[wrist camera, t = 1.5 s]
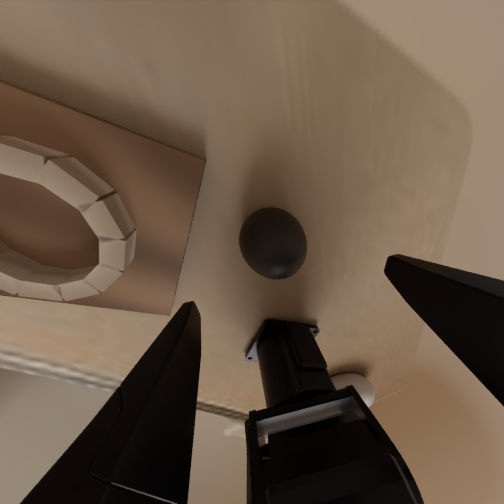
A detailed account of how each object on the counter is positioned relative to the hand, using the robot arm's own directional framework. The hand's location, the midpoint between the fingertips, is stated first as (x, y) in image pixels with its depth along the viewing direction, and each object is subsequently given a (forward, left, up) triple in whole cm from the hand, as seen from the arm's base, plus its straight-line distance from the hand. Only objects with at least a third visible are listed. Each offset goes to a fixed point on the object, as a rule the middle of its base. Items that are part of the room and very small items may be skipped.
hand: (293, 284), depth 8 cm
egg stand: (-3, +12, -6) cm, 14 cm away
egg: (0, 0, -6) cm, 6 cm away
